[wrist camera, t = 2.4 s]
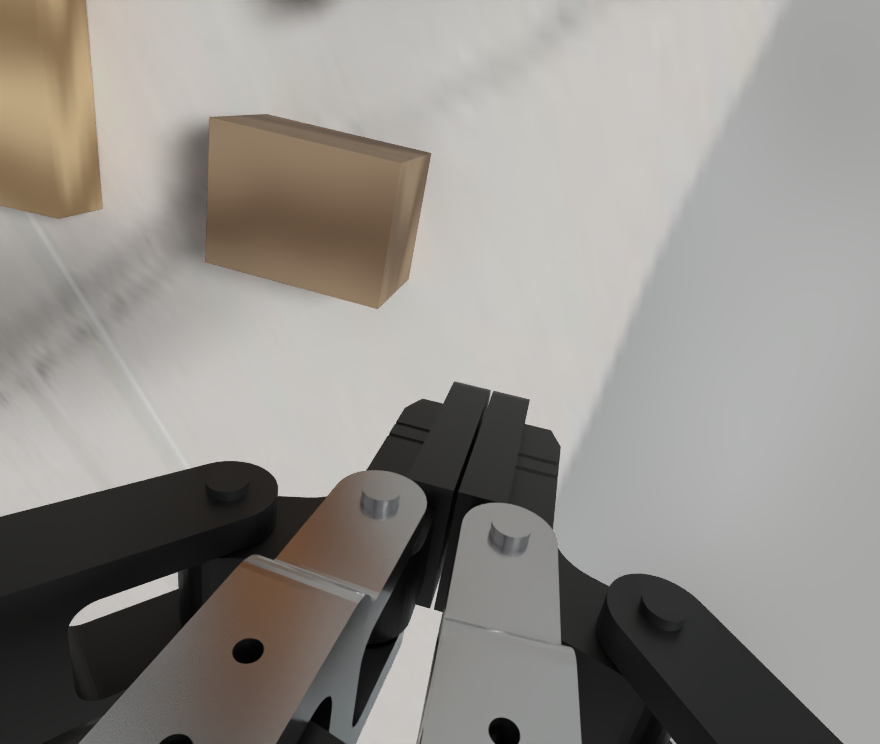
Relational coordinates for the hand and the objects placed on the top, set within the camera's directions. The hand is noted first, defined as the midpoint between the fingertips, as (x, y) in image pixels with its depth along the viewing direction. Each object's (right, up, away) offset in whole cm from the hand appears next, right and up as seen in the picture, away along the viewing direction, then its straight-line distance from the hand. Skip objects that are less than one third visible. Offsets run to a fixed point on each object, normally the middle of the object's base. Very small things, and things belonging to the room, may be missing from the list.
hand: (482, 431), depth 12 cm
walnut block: (-6, +10, +18) cm, 21 cm away
